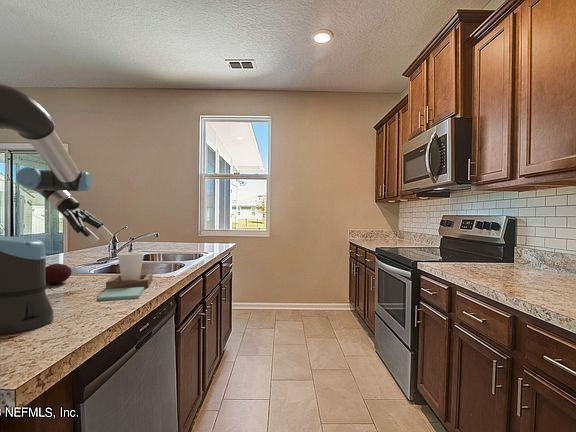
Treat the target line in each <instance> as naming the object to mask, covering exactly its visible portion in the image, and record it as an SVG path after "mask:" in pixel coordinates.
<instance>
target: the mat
mask: <svg viewBox="0 0 576 432" xmlns="http://www.w3.org/2000/svg"><path fill="white" fill-rule="evenodd" d="M144 291H145V288H144V287H135V288H116V289H106V288H105V290H104V291H103V292H102V293H101V294H100V295H98V296H97V298H96V300H97V302H98V301H99V302H101V301H115V300H117V301H118V300H129V299H132V300H133V299H140V297H141V295H142V294H143V292H144Z"/></svg>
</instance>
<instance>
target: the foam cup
mask: <svg viewBox="0 0 576 432" xmlns="http://www.w3.org/2000/svg"><path fill="white" fill-rule="evenodd" d="M117 260H118V265H119V271H120V275H121V280H140V274H142V266H143V260H144V252H141V251H129V252H128V251H127V252H118V254H117Z"/></svg>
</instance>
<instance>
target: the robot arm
mask: <svg viewBox="0 0 576 432" xmlns="http://www.w3.org/2000/svg"><path fill="white" fill-rule="evenodd" d="M55 128H56V125H55V121H54V120H53V117H51V115H50V114H49V112H48V111H47V110H46V109H45V108H44V107H43V106H42V105H41V104H40V103H39V102H38V101H37V100H35V99H34V98H32V97H31V96H29V95H28V94H27V93H24V92H23V91H21V90H20V89H18V88H15V87H13V86H10V85H8V84H7V85H6V84H2V83H1V84H0V129H3V130H4V129H6V130H12V131H14V132H16V133H17V134H18V135H19V136H20V137H22V138H23V139H25V140H28V142H29V143H30V145H31V146H32V147H33V148H34V149H35V151H36V152H37V153H38V155H39V157H40V158H41V159H42V160H43V162H44V163H45V164H46V165H47V166H48V168H49V169H50V170H48V169H47V170H46V169H38V168H35V167H30V166H26V167H25V166H24V167H23V168H21V169H20V170H18V171H17V173H16V176H15V178H16V182H17V184H19V185H20V186H22V187H23V188H25V189H27V190H30V191H33V192H36V193H38V194H39V195H41V196H42V198H45V200H46V201H47V202H48V203H50V206H51V207H53V208H55V209H56V210H57V211H58V212H59V213H60V214H61V215H62V216H63V217H65V219H66V220H67V221H68V223H69V226H71V228H72V229H73V230H74V231H75V233H77V234H80V233H81V234H82V235H83V236H84V237H85V238H86V239H87V240H88V241H89V242H91V243H92V244H93V245H94V244H96V243H97V241H99V239H100V238H99V237H98V236H96V234H95V233H94V232H92V231H91V230H90V228H88V227H85V225H84V222H85V223H86V224H88V225H90V226H92V227H93V228H95V229H96V230H97V231H98V232H99V233H100V235H102V236H103V237H104V238H105V239H106V240H107V241H110V240H111V239H112V238H113V237H114V234H112V233H111V231H109V229H107V228H106V227H105V226H104V225H105V223H104V222H103V221H101V220H100V219H98V218H97V217H95V216H94V215H92V214H91V213H90V212H89V211H87V210H86V209H84V208H83V209H80V208H79V207H80V205H81V204H80V202H79V201H78V200H77V199H76V197H73V195H72V194H71V193H70V191H71V192H85V191H86V192H87V191H89V190H90V189H91V186H92V177H91V174H90V173H89V171H84V170H81V171H80V170H79V168H78V167H77V165H76V164H75V162H74V160H73V158H72V157H71V155H70V154H69V151H68V150H67V148H66V147H65V145H64V143H63V142H62V140H61V138H60V137H59V135H58V134H57V132H56V130H55ZM46 261H47V254H46V245H45V243H44V241H42V240H40V239H37V238H33V237H27V236H25V237H24V236H14V235H13V236H7V235H0V335H7V334H14V333H21V332H26V331H29V330H30V331H31V330H34V329H38V328H40V327H44V326H45V325H47V324H50V323H52V322H53V320H54V310H53V309H54V308H53V306H52V305H51V302H50V299H49V298H48V295H47V293H46V292H47V291H46V285H47V284H46V267H47V265H46V263H47V262H46Z"/></svg>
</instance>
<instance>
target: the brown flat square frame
mask: <svg viewBox="0 0 576 432" xmlns="http://www.w3.org/2000/svg"><path fill="white" fill-rule="evenodd" d="M153 275H154V274H153V272H151V273H150V272H148V273H141V274H140V280H121V274H115V275H112V277H110V278H109V279H108V280H107V281H106V282H105V290H106V289H116V288H135V287H144V289H147V288H149V287H150V285H151V283H152V282H153V280H154V279H153V278H154V277H153Z"/></svg>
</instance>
